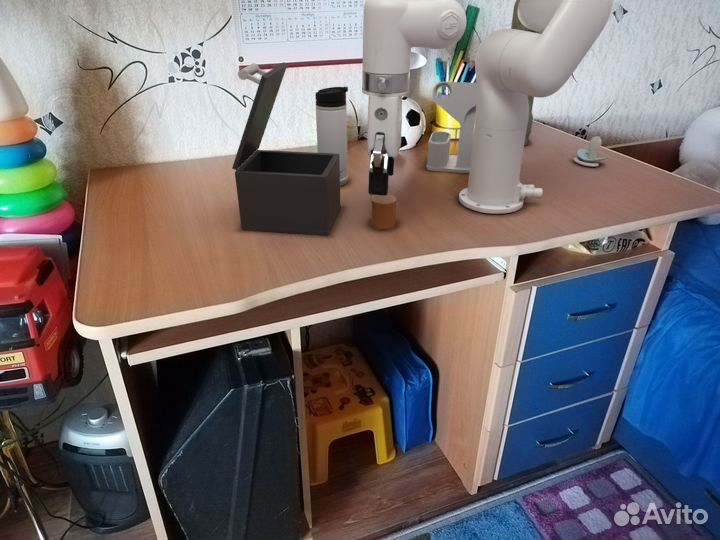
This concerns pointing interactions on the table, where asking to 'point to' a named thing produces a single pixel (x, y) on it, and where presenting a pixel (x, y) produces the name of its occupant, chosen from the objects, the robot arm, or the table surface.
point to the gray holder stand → (464, 112)
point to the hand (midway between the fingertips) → (381, 184)
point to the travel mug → (333, 125)
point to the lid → (258, 108)
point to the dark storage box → (289, 192)
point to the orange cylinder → (383, 211)
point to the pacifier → (590, 153)
